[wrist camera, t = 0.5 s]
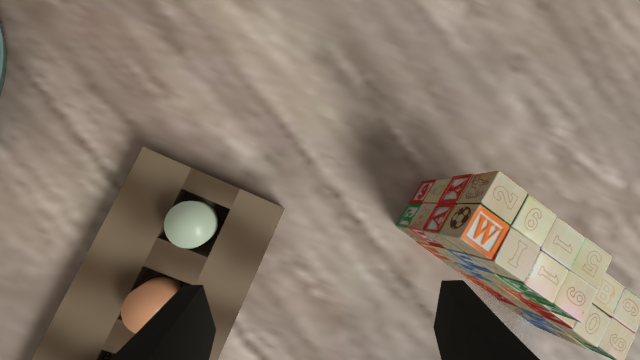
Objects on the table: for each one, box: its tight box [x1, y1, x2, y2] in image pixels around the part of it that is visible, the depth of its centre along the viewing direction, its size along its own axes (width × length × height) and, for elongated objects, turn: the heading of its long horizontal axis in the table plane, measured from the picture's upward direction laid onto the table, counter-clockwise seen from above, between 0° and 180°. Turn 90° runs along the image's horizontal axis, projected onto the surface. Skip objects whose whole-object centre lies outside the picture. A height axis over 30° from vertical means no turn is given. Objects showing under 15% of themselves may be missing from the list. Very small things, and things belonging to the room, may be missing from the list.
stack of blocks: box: [396, 171, 640, 360], centre depth 31 cm, size 21×6×12 cm, turn 56°
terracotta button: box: [121, 277, 180, 334], centre depth 27 cm, size 4×4×3 cm
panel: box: [31, 147, 285, 360], centre depth 29 cm, size 24×14×3 cm, turn 156°
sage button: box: [164, 201, 218, 248], centre depth 29 cm, size 4×4×3 cm
